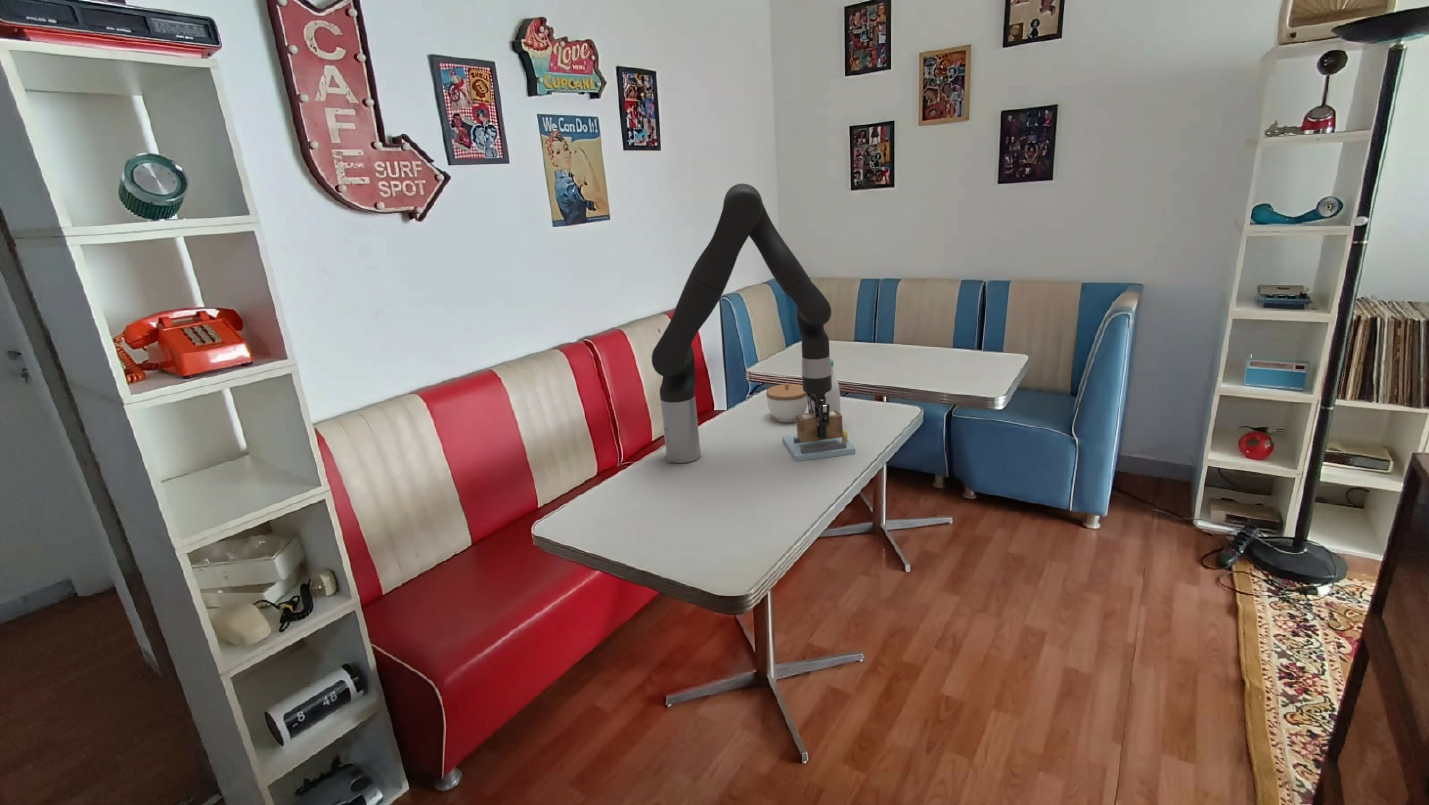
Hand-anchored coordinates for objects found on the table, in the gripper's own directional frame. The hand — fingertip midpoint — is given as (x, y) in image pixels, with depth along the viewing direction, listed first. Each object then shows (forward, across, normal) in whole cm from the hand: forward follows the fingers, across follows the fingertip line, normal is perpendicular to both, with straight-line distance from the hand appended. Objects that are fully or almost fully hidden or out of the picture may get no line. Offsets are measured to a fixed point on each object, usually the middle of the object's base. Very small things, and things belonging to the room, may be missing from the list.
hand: (819, 434), depth 184 cm
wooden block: (+1, 0, 0) cm, 1 cm away
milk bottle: (+5, +17, -7) cm, 19 cm away
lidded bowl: (+5, +28, +2) cm, 28 cm away
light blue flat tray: (+5, +2, 0) cm, 5 cm away
